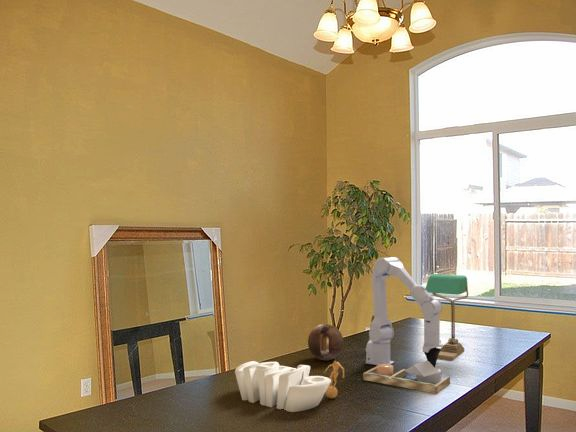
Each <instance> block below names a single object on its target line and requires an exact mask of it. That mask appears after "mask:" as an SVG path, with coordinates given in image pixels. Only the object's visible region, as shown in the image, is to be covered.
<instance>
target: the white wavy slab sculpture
mask: <svg viewBox="0 0 576 432" xmlns="http://www.w3.org/2000/svg"><path fill="white" fill-rule="evenodd" d="M310 370H311V366H310V365H309V364H308V365H307V364H299V365H297V367H290V366H285V365H280V363H279V362H278V361H266V362H265V361H264V362H258V361H255V360H251V361H247V362H245V363H242V364H239V365H238V366H237V367H236V368H235V370H234V374H235V378H236V382H237V385H238V390H239V392H240V397H241V400H242V401H248V402H249V403H252V404H253V403H256V402H258V401H259V404H261V405H260V406H265V407H268V408H273V407H275V406H276V409H277V410H281V409H284V410H283V411H285V410H286V411H285V412H290V413H296V412H304V411H307V410H310V409H314V408H317V407H318V406H319V405H320V403H321V402H322V399H323V397H324V396H325V395H326V390H327V388H328V387H329V385H330V384H331V382H332V381H331V380H330V378H329V377H326V376H322V375H309V374H310Z"/></svg>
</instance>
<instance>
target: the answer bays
mask: <svg viewBox="0 0 576 432" xmlns="http://www.w3.org/2000/svg"><path fill="white" fill-rule="evenodd" d="M405 370H407V368H402V369H401V370H399V371H397V372H395V373H393V375H392V376H390V377H389V376H385V375H380V374H377V365H375V366H374V367H373V368H370V369H368V370H366V371H364V372H363V373H362V378H363V379H362V380H363V381H369V382H374V383H378V384H384V385H389V386H396V387H400V388H406V389H411V390H417V391H422V392H427V393H433V394H438V393H439V392H441V391H442V390H443V389H445V388H446V387H447V386H449V385H450V384H451V376H449V375H447V376H445V377H444V378H443V379H441V381H439V382H436V384H434V383H431V382H422V381H419V380H415V379H414V380H412V379H407V378H405V377H406V376H407V372H405Z"/></svg>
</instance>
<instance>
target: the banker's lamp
mask: <svg viewBox="0 0 576 432" xmlns="http://www.w3.org/2000/svg"><path fill="white" fill-rule="evenodd" d="M425 288H426V289H425V290H426V291H427V292H428V293H429V294H432V296H433V297H436V298H437V297H438V298H440V299H444V300H446V301H449V302H450V309H451V311H450V313H451V314H450V315H451V318H450V319H451V320H450V321H451V322H450V323H451V325H450V327H451V328H450V329H451V330H450V331H451V334H450V337H451V338H450V337H449V338H448V341H447V342H446V343H443V346H442V347H439V348H440V349H441V351H440V353H439V355H438V358H437V360H445V361H451V362H452V361H454V360H455V359H457V358H458V357H459V356H460V355H462V354H463V353H464V352H465V347H464V346H463V344H462V343H461V342H459V339H458V338H456V324H455V323H456V317H455V316H456V315H455V314H456V311H455V310H456V306H455V301H459V300H465V299H467V298H468V297H469V289H468V288H469V287H468V278H467V276H466V275H464V274H463V275H461V274H444V273H443V274H442V273H441V274H440V273H438V274H437V273H435V274H430V275H429V277H428V280H427V282H426V286H425ZM465 292H466V295H464V296H461V297H458V298H454V299H453V300H452V299H451V298H450V297H446V296H444V295H456V296H458V295H462V294H464V293H465ZM441 294H442V295H441Z"/></svg>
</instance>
